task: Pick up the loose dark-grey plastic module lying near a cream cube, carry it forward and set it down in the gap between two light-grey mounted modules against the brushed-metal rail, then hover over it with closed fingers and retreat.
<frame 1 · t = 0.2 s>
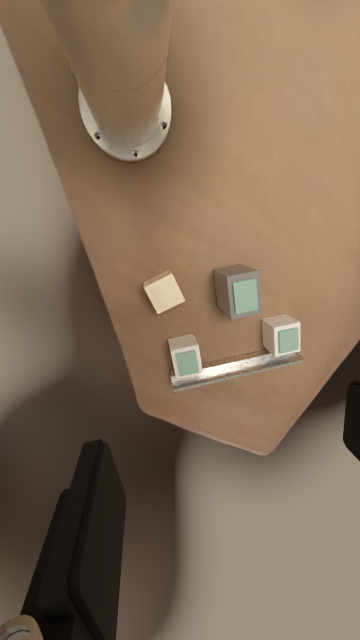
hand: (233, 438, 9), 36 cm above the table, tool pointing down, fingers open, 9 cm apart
cream cube: (162, 288, 44), on the table
rail: (231, 361, 50), on the table
mounted modules: (229, 339, 49), on the table
module: (228, 285, 45), on the table
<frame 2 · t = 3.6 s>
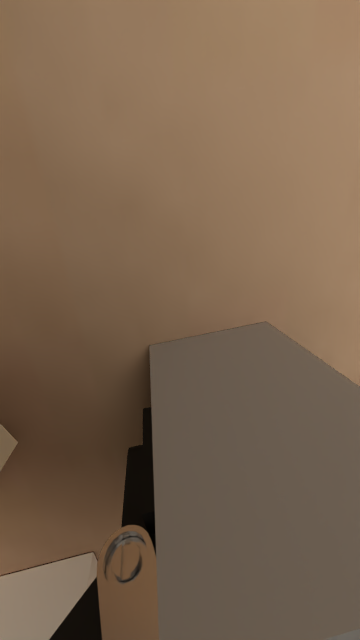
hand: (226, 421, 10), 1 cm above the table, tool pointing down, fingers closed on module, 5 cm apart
mounted modules: (221, 551, 15), on the table
module: (217, 401, 11), on the table, touching gripper
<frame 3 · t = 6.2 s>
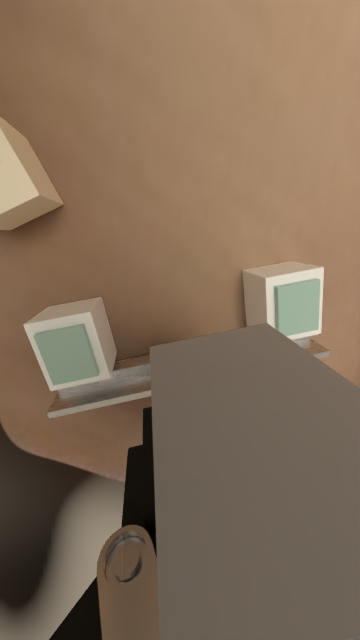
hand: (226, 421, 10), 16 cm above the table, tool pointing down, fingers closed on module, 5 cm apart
cream cube: (18, 186, 20), on the table
rail: (185, 355, 26), on the table
mounted modules: (178, 311, 25), on the table
module: (218, 402, 11), point 14 cm above the table, touching gripper
when the fingers open (3 cm above the table, at t = 8.7 s): module drops 2 cm, on the table.
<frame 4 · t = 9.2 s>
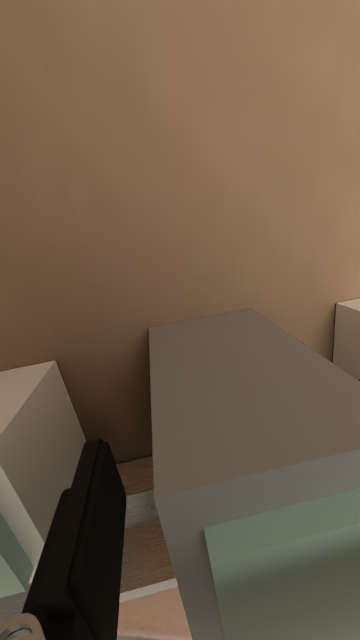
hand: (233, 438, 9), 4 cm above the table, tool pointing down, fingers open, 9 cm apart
rail: (219, 452, 14), on the table
mounted modules: (209, 382, 13), on the table
module: (208, 379, 13), on the table
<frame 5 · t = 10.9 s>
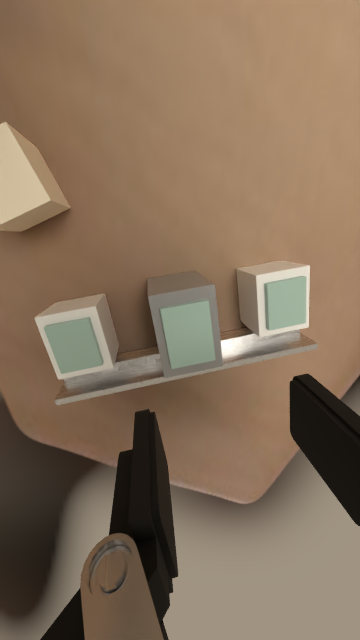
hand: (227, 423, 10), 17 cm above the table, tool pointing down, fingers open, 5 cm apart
cream cube: (29, 191, 21), on the table
rail: (183, 348, 28), on the table
mounted modules: (176, 307, 26), on the table
module: (176, 306, 26), on the table
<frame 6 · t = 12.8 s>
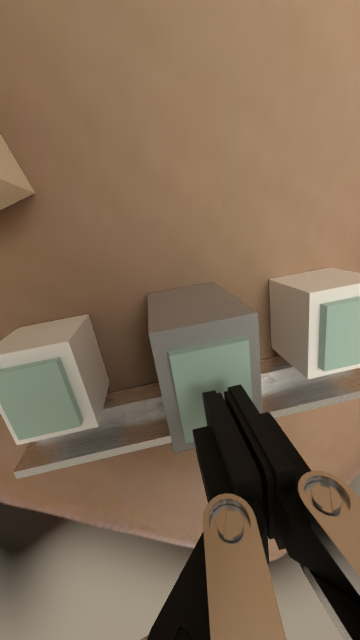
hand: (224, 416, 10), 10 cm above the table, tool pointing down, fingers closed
rail: (195, 384, 21), on the table
mounted modules: (187, 332, 19), on the table
module: (186, 330, 19), on the table
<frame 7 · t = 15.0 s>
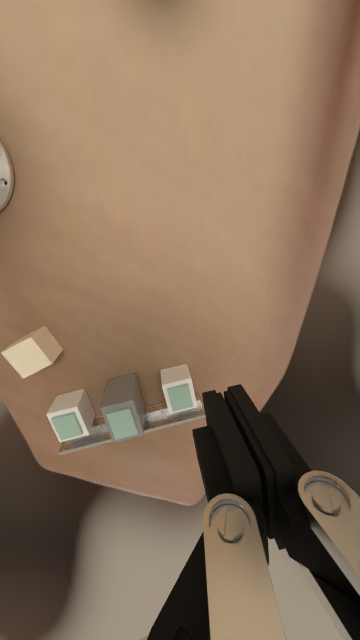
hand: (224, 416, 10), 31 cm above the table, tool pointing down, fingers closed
cream cube: (41, 344, 40), on the table
rail: (134, 413, 47), on the table
mounted modules: (127, 392, 45), on the table
module: (127, 391, 45), on the table
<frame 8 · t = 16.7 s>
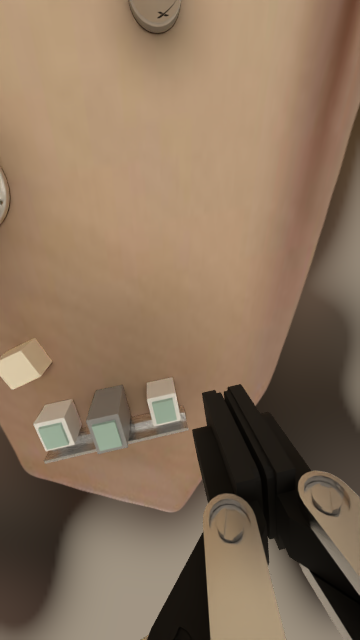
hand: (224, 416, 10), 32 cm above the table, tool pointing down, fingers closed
travel mug: (155, 2, 29), on the table
cream cube: (30, 355, 41), on the table
rail: (120, 423, 48), on the table
mounted modules: (114, 403, 47), on the table
module: (113, 402, 47), on the table
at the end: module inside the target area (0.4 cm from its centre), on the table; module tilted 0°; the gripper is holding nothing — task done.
